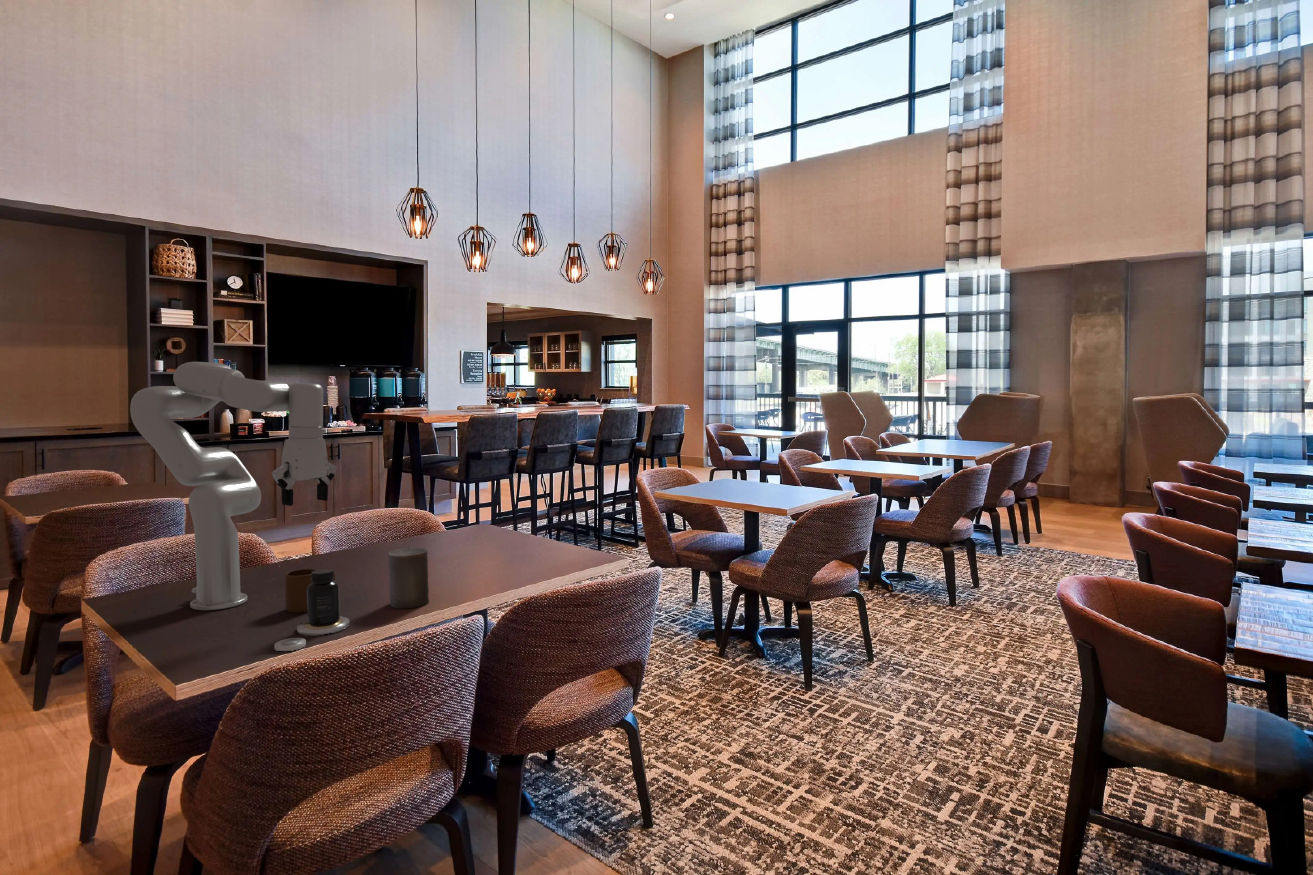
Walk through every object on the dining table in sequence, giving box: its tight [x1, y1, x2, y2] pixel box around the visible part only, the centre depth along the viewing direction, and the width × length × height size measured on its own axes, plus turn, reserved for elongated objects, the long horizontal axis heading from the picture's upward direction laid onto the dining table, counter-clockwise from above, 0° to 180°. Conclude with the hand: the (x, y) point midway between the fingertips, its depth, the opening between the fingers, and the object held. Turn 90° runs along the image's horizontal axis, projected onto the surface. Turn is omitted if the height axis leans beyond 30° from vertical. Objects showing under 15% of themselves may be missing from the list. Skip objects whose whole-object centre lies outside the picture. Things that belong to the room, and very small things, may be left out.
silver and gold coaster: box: [296, 615, 350, 637], centre depth 166 cm, size 11×11×1 cm
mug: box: [284, 568, 336, 614], centre depth 181 cm, size 12×8×9 cm, turn 134°
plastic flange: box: [274, 637, 307, 652], centre depth 153 cm, size 6×6×1 cm
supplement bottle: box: [307, 568, 341, 626], centre depth 166 cm, size 7×7×12 cm
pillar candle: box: [387, 546, 430, 609], centre depth 185 cm, size 10×10×15 cm
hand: (305, 502), depth 176 cm, fingers open, 9 cm apart
